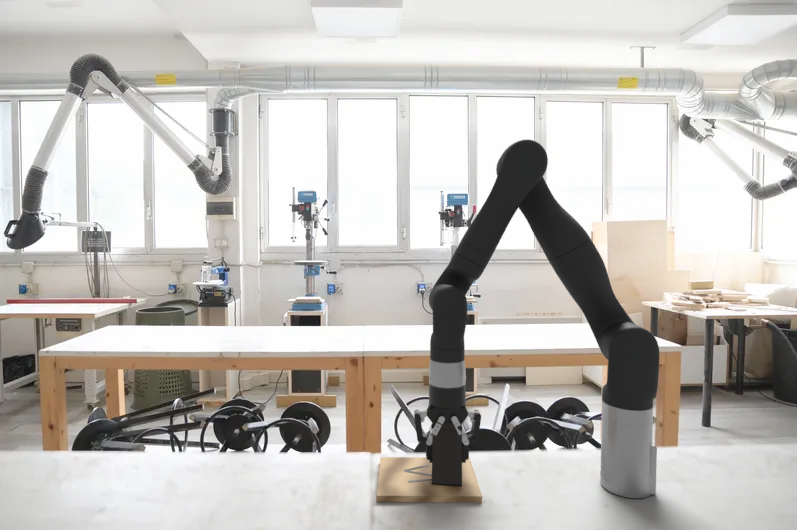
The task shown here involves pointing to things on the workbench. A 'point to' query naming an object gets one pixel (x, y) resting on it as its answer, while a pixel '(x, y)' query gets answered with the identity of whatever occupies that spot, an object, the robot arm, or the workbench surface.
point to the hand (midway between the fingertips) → (447, 460)
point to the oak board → (422, 482)
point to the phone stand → (447, 455)
